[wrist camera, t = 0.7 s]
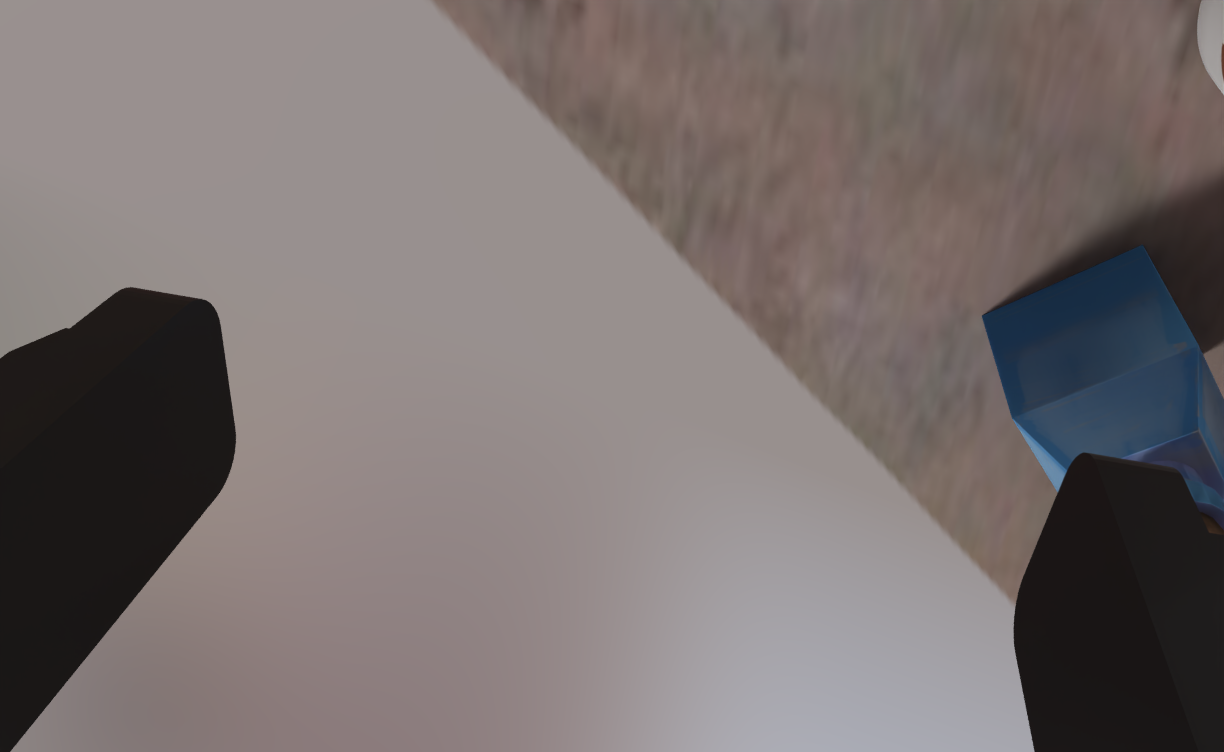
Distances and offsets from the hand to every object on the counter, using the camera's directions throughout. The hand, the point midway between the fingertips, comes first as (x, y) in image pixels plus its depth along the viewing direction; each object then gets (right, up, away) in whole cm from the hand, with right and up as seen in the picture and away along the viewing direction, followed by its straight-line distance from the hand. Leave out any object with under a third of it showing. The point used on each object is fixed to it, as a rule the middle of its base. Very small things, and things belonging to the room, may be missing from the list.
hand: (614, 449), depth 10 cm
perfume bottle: (+19, +2, +31) cm, 37 cm away
